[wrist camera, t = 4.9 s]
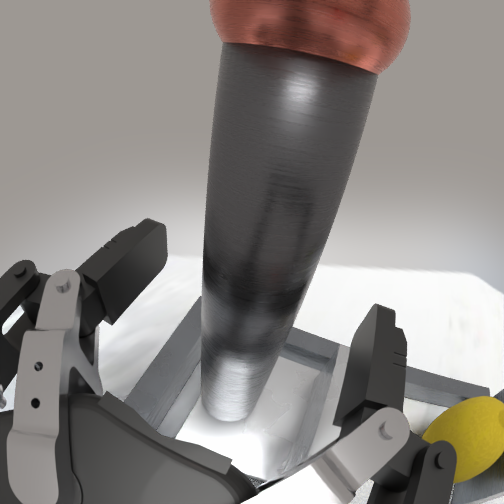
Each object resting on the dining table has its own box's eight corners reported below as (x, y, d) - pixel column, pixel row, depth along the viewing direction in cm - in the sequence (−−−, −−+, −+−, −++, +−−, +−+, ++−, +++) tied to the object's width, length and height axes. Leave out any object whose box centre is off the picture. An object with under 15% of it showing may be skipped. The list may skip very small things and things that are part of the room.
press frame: (481, 400, 16) (534, 356, 12) (469, 529, 7) (541, 508, 3) (207, 310, 22) (212, 237, 17) (114, 448, 12) (67, 414, 8)
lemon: (394, 429, 15) (470, 376, 10) (448, 423, 15) (520, 371, 10) (395, 499, 11) (486, 473, 6) (453, 484, 11) (537, 447, 6)
